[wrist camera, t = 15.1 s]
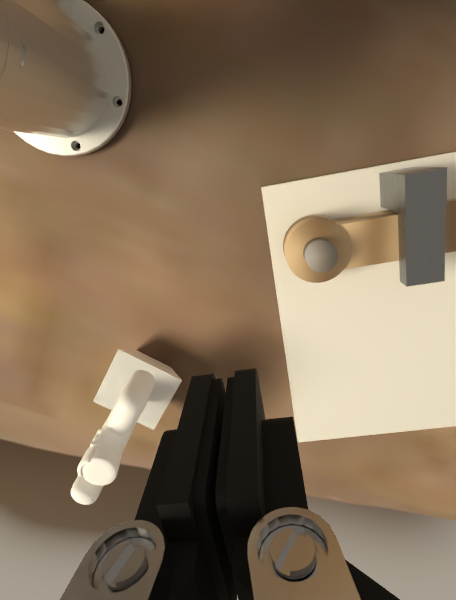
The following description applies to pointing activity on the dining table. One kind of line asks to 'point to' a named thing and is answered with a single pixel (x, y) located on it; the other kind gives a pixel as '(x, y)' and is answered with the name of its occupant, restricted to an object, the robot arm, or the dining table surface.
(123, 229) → the dining table surface
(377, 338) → the pivot board
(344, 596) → the robot arm
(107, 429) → the figurine
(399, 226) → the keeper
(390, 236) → the oak link
